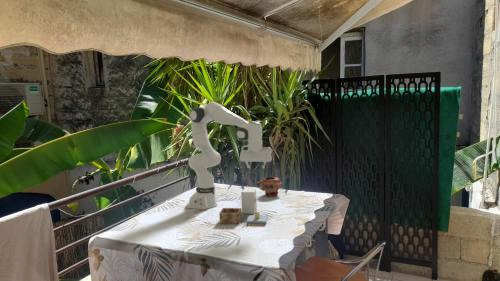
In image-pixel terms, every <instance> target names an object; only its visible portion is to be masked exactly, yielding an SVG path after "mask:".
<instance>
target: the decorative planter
mask: <svg viewBox="0 0 500 281" xmlns="http://www.w3.org/2000/svg"><path fill="white" fill-rule="evenodd" d="M259 184H261V185H262V187H259ZM282 186H283V183H282V182H281V180H280V178H278V177H275V176H274V177H272V176H269V177H268V176H267V177H263V180H259V181H257V182H256V187H257V188H258V189H259V190H261V191H263V192H264V194H265V196H266V197H276V196H278V195H279V189H280V188H281V187H282Z"/></svg>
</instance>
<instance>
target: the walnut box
mask: <svg viewBox="0 0 500 281" xmlns="http://www.w3.org/2000/svg"><path fill="white" fill-rule="evenodd" d="M218 214H219V224H220V225H240V223H241V220H242V219H243V217H242V215H243V213H242V207H241V208H240V207H237V208H236V207H223V208H222V209H221V210H220V211H219V213H218Z"/></svg>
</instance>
